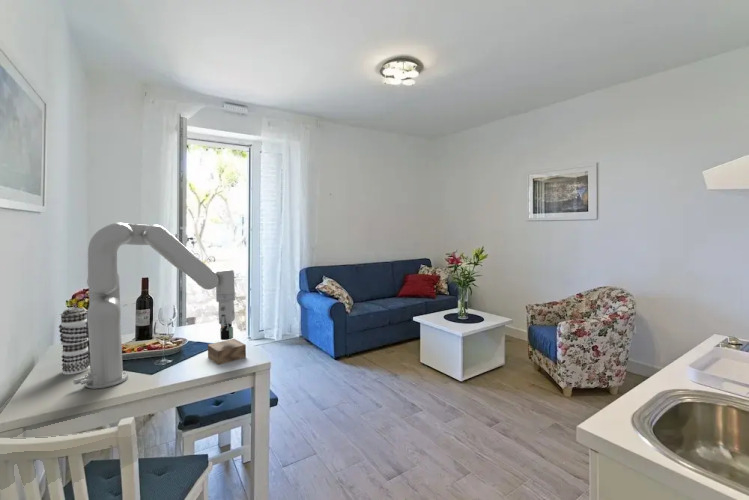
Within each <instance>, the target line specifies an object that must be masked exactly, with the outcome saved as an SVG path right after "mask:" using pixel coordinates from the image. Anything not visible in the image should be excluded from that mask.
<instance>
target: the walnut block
mask: <svg viewBox="0 0 749 500" xmlns="http://www.w3.org/2000/svg"><path fill="white" fill-rule="evenodd" d="M246 348H247V346H246V344H245V343H243V342H241V341H239V340H238V339H236V338H232V339H229V340H221V341H218V342H214V343H209V344H207V358H208V359H210V360H212V361H213V362H214V363H215V364H217V365H223V364H227V363H230V362H233V361H234V362H235V361H238V360H242V359H245V358H247V352H246V351H247V349H246Z"/></svg>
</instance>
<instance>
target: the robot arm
mask: <svg viewBox="0 0 749 500" xmlns="http://www.w3.org/2000/svg"><path fill="white" fill-rule="evenodd" d="M124 245H130V246H133V245H134V246H135V245H136V246H137V245H138V246H149V247H151V248H152V249H153V250H154V251H156V252H157V254H159V255H160V256H161V257H163V258H164V259H165V260H166V261H167V262H169V263H170V264H171V265H172V266H173V267H175V268H177V269H179V270H180V271H181V272H183V273H184V274H185V275H187V276H188V277H189V278H190V279H192V280H193V281H194V282H195V283H196V285H198V286H199V287H201V288H202V289H203V290H213V289H215V295H216V296H215V300H216V302H217V303H218V324H219V325H220V329H221V336H220V340H221V341H227V340H230V339H229V330H228V327H233V322H234V321H235V319H236V314H235V302H234V301H235V300H236V296H235V295H236V294H235V291H236V290H235V289H236V288H235V287H236V286H235V272H234V270H233V269H232V268H231V269H230V268H224V269H223V268H222V269H211V268H210V267H209V266H207V264H205V263H204V262H203V261H202V260H201V259H200V258H198V257H197V256H196V255H195V253H193V252H192V251H191V250H190V249H189V248H188V247H186V246H185V245H184V244H183V243H182V242H181V241H180V240H179V239H178V238H176V237H175V236H174V235H173V234H172V233H171V232H169V231H168V229H166V228H165V227H163V226H162V225H159V224H142V223H141V224H137V223H135V224H134V223H127V222H126V223H125V222H122V221H121V222H119V221H118V222H113V223H110V224H108V225H105V226H104V227H102V228H101V229H98V231H96V232H94V234H93V235H92V237H91V238H90V241H89V242H88V247H87V280H86V284H87V287H88V296H89V297H88V299H89V300H88V301H89V305H88V308H87V310H86V311H87V312H86V318H87V322H88V324H87V326H88V329H87V330H88V335H89V337H88V339H89V340H88V343H89V346H88V351H89V359H90V361H89V363H90V365H89V366H90V368H89V370H90V371H88V372H87V374H86V375H84V376H82V377H77V378H74V379H73V384H74V385H79V384H81V385H85V387H86V388H88V389H95V390H96V389H97V390H98V389H104V388H109V387H114V386H116V385H119V384H121V383H124V382H125V381H126V380H127V379H128V378H129V374H128V373H127V372H126V371H124V370H123V369H124V368H123V347H122V345H123V344H122V325H121V323H122V322H121V320H122V319H121V316H122V315H121V312H122V311H121V310H122V309H121V294H120V293H121V292H120V288H121V287H120V276H119V273H118V250H119V248H120V247H121V246H124Z"/></svg>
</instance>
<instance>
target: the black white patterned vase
mask: <svg viewBox="0 0 749 500" xmlns="http://www.w3.org/2000/svg"><path fill="white" fill-rule="evenodd" d="M87 311H88V310H85V309H84V308H83V307H73V308H68V309H67V308H66V309H64V310H63V312H62V313H60V318H61V319H60V324H59V325H58V328H59V330H58V331H59V333H60V335H59V338H60V339H59V340H60V342H61V343H60V345H62V350H61V351H62V352H61V353H62V354H61V358H62V359H61V362H62V364H61V366H62V374H63V375H75V374H79V373H80V374H81V373H83V372H86V371H88V370H90V350H89V346H88V342H89V333H88V322H87ZM87 333H88V334H87Z"/></svg>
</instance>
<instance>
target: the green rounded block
mask: <svg viewBox="0 0 749 500" xmlns="http://www.w3.org/2000/svg"><path fill="white" fill-rule="evenodd" d="M228 330H229V340H231V339H234V327H233V326H231V327H228ZM219 331H220V334H219V335H220V337H221V328H220V329H219Z"/></svg>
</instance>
